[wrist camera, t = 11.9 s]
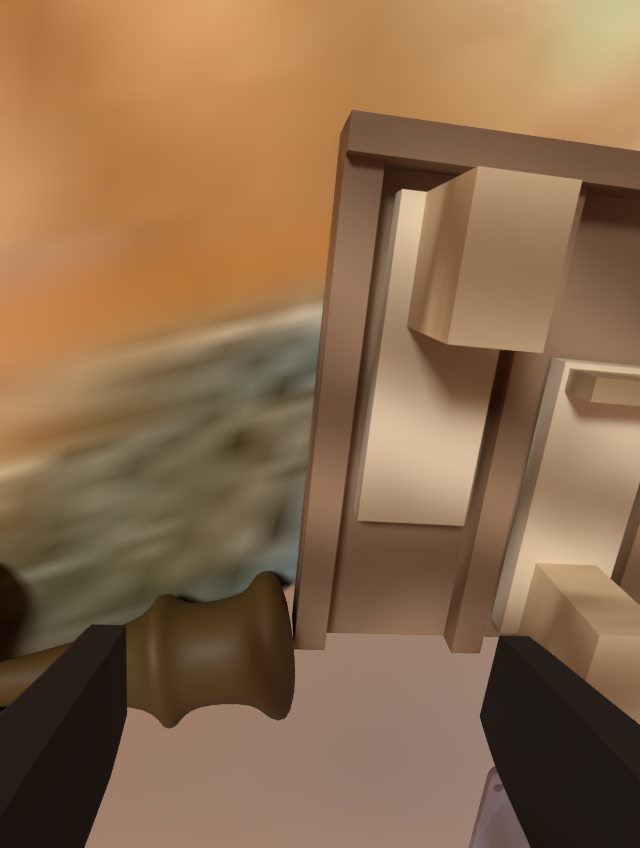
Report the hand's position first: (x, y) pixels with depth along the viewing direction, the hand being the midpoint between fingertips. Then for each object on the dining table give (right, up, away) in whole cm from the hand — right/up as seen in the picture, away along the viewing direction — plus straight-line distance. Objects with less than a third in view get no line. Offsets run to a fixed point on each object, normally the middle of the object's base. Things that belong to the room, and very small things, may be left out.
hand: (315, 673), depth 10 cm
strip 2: (+10, +1, +10) cm, 14 cm away
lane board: (+7, +5, +10) cm, 13 cm away
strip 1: (+4, +7, +8) cm, 11 cm away
